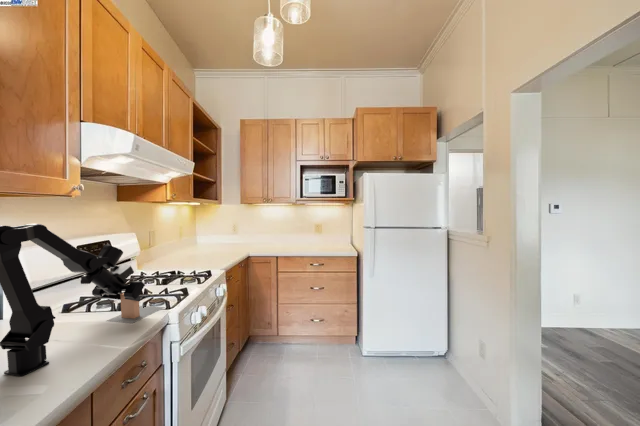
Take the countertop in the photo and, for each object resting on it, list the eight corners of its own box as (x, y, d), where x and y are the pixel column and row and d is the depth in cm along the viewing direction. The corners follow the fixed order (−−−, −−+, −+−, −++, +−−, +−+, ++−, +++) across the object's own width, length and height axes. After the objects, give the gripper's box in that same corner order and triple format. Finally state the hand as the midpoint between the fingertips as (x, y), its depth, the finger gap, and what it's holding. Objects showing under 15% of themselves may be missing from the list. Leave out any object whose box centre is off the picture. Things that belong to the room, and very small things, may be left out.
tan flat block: (134, 318, 109) (133, 294, 109) (121, 317, 111) (120, 294, 111) (139, 315, 112) (138, 292, 111) (127, 315, 113) (125, 292, 113)
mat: (132, 324, 105) (132, 323, 105) (105, 322, 108) (105, 320, 108) (165, 308, 121) (165, 307, 121) (141, 306, 123) (141, 305, 123)
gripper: (139, 259, 105) (163, 281, 116) (97, 259, 109) (125, 280, 120) (120, 287, 97) (148, 308, 108) (77, 285, 101) (108, 305, 113)
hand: (132, 299), depth 112 cm, fingers closed on tan flat block, 6 cm apart
